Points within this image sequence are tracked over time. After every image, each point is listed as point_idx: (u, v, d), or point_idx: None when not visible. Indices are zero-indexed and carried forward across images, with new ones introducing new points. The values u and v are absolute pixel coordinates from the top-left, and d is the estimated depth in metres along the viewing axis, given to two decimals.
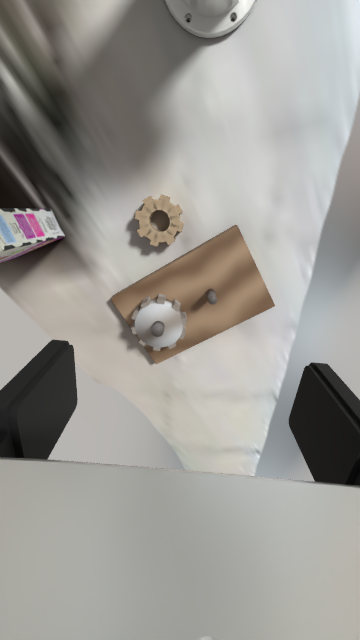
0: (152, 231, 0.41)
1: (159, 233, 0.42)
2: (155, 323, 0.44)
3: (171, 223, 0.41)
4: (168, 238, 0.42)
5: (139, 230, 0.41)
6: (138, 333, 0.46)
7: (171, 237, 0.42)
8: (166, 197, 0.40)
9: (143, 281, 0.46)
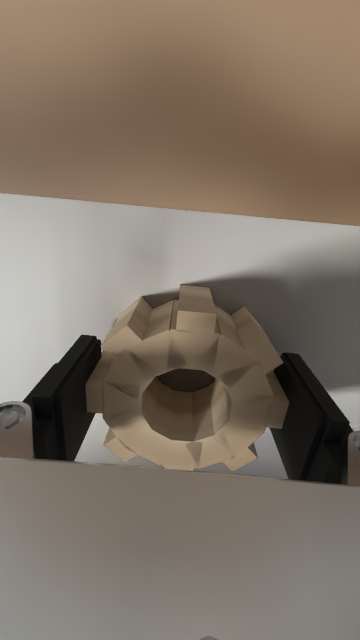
0: (235, 394, 0.09)
1: (216, 373, 0.09)
2: None
3: (148, 375, 0.09)
4: (196, 337, 0.09)
5: (275, 423, 0.10)
6: None
7: (181, 332, 0.09)
8: (112, 447, 0.11)
9: None
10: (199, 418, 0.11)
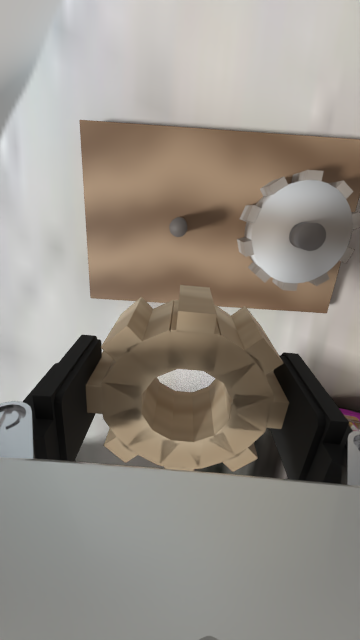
0: (235, 395, 0.09)
1: (216, 373, 0.09)
2: None
3: (148, 375, 0.09)
4: (196, 337, 0.09)
5: (275, 424, 0.10)
6: (344, 245, 0.22)
7: (181, 332, 0.09)
8: (113, 448, 0.11)
9: (262, 306, 0.28)
10: (199, 418, 0.11)
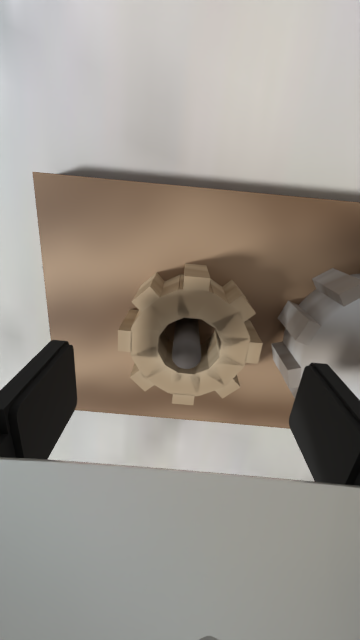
0: (223, 337, 0.14)
1: (210, 321, 0.13)
2: None
3: (163, 323, 0.13)
4: (196, 294, 0.13)
5: (251, 359, 0.14)
6: None
7: (186, 291, 0.13)
8: (136, 379, 0.15)
9: None
10: None
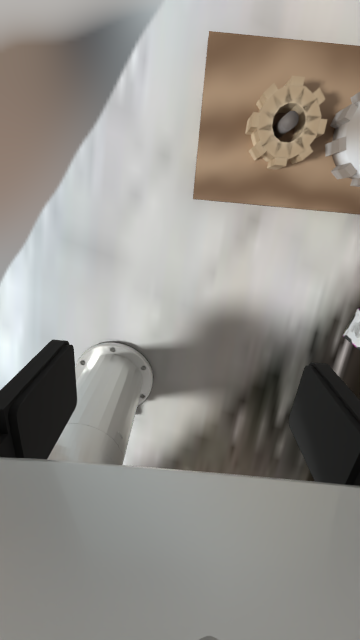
0: (307, 116, 0.27)
1: (301, 105, 0.26)
2: None
3: (277, 106, 0.26)
4: (296, 87, 0.26)
5: (320, 131, 0.27)
6: None
7: (292, 85, 0.26)
8: (257, 147, 0.28)
9: (338, 209, 0.32)
10: None
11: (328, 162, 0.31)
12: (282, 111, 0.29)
